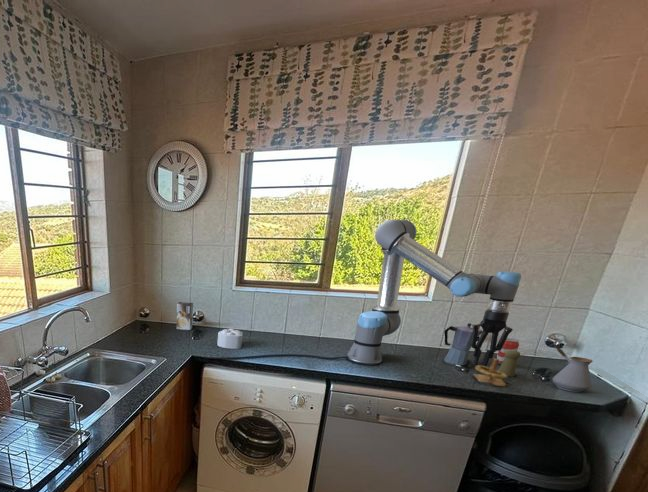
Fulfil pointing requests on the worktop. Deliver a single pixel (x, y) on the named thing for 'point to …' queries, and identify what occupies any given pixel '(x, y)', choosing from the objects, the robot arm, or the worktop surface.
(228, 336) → the lumpy-topped squat cylinder
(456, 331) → the moka pot
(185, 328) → the coffee box
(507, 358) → the cork
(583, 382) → the coffee pot
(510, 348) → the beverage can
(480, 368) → the ring
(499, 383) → the wooden peg stand
